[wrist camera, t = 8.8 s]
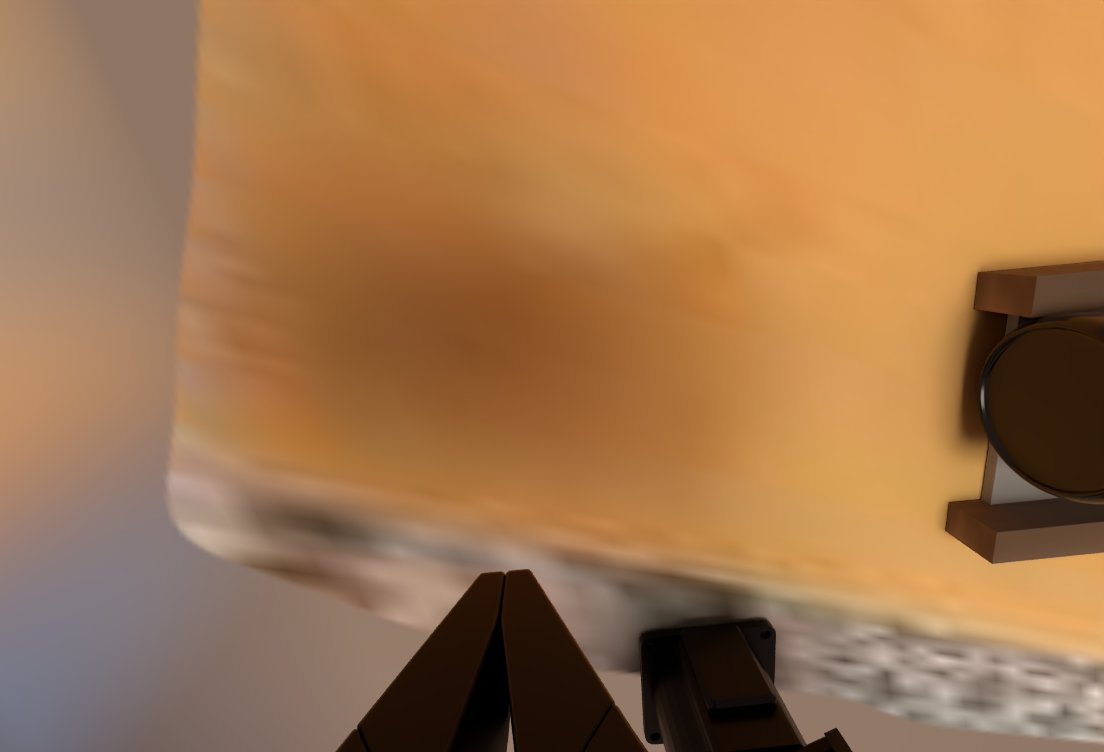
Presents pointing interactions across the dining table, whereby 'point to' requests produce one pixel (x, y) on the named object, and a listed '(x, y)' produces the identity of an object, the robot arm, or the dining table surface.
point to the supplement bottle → (1049, 404)
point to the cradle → (1007, 500)
